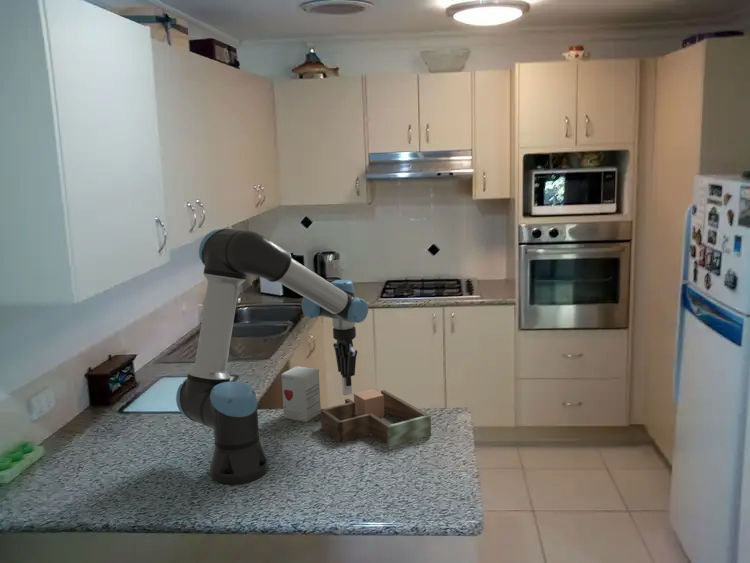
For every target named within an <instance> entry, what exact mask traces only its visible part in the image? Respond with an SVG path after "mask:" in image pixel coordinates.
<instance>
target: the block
mask: <svg viewBox="0 0 750 563" xmlns="http://www.w3.org/2000/svg"><path fill="white" fill-rule="evenodd" d="M353 402H355V411H356V417H357V416H361V415H365V414H369V413H372V414H374V415H375V416H377V417H378V418H383V417H384V416H385V410H384V395H382V394H381V392H379V391H377V390H375V389H374V388H372V389H371V388H370V389H367V390H362V391H358V392H354V393H353Z"/></svg>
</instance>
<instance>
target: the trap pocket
mask: <svg viewBox="0 0 750 563" xmlns="http://www.w3.org/2000/svg"><path fill="white" fill-rule="evenodd" d="M353 405H354V404H353ZM353 405H352V402H350V403H346V404H345V403H343V404H337V405H335V406H331V407H326V408H321V410H320V411H321V413H320V423H321V424H320V426H321V427H320V428H321V429H322V430H323V431H324V432H326V433H327V434H328V433H329V434H328V435H330V436H331V437H333V439H334V440H336V441H338V442H339V443H342V442H346V441H349V440H353V439H358V438H360V437H364V436H368V435H371V434H370V415H371V414H370V413H369V414H365V415H361V416H357V415H356V417H353V416H354V415H353V414H352V413H354V412H352V411H353V409H352V406H353ZM353 408H354V407H353ZM352 415H353V416H352Z"/></svg>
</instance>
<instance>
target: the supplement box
mask: <svg viewBox="0 0 750 563" xmlns="http://www.w3.org/2000/svg"><path fill="white" fill-rule="evenodd" d="M280 376H281V385H282V386H281V389H282V406H283V418H284V419H288V420H293V421H294V420H295V421H297V422H298V421H299V422H304V423H308V422H309V421H311V420H312V419H314V418H315V417H316V416H318V415H319V414H321V411H320V410H321V409H322V408H321V386H320V369H318V368H312V367H306V366H297V365H295V366H294V367H293V368H290V369H289V370H287V371H284V372H283V373H281V375H280Z"/></svg>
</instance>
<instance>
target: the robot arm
mask: <svg viewBox="0 0 750 563" xmlns="http://www.w3.org/2000/svg"><path fill="white" fill-rule="evenodd" d="M198 255H199V260H200V261H201V263H202V265H203V266H204V268H203V276H204V277H205V279H206V281H207V285H206V286H207V287H206V293H205V297H204V304H203V311H202V318H201V324H200V329H199V330H200V331H199V337H198V343H197V350H196V356H195V363H194V366H193V367H192V368H191V369H190V370H188V372H187V378H185V379H184V380H183V381H182V383H181V384H180V385H179V386H178V389H177V392H176V395H175V400H176V406H177V408H178V410H179V412H180V413H181V414H182V415H183V416H184V417H185V418H187V419H189V420H190V421H192V422H195V423H198V424H200V425H202V426H205V427H208V428H210V429H213V437H214V438H213V439H214V450H213V454H212V457H211V463H210V466H209V469H210V471H209V472H210V477H211V479H213V481H216V482H217V483H220V484H225V485H237V484H238V485H239V484H245V483H250V482H253V481H255V480H257V479H260V478H261V477H263V476H264V475H265V474H266V473H267V472H268V470H269V463H268V462H269V461H268V457H267V455H266V453H265V451H264V448H263V446H262V444H261V441H260V433H259V432H260V429H259V416H258V400H257V394H256V391H255V389H254V388H253V387H252V386H251V385H250V384H247V383H245V382H241V381H237V382H235V381H231V375H230V374H229V373H228V371H227V367H228V360H229V353H230V348H231V347H230V346H231V340H232V336H233V335H232V334H233V328H234V321H235V316H236V315H235V314H236V308H237V301H238V294H239V287H240V286H241V285H242V284H243V283H244V282H246V279H247V275H251V276H255V277H260V278H262V279H264V280H266V281H268V282H271V283H276V282H277V283H279V284H281V285H282V286H284V287H286V288H288V289H289V290H291V291H293V292H295V293H297V294H298V295H300V296H302V297H303V299H302V301H301V310H302V313H303V314H304V316H305V317H307V318H309V319H313V318H315V319H317V318H319V317H324V318H329V319H331V320H332V322H331V323H332V326H333V328H332V335H333V336H332V337H333V339H334V340H336V342H334V343H333V348H334V352H335V359H336V366H337V371H338V373H340V375H341V380H342V381H341V383H342V395H343V396H348V395H352V394H353V388H352V386H353V385H352V377H353V376H355V375H356V365H357V362H356V361H357V355H358V349H354V343H353V341H354V339H355V338H356V337H357V335H356V334H357V331H356V326H355V325H356V323H357V324H360V323H362V322H364V321H365V319H366V318H367V316H368V314H369V305H368V303H367V301H366V300H365V299H363V298H360V297H355V289H354V283H353V282H352V280H349V279H336V280H333V281H331V282H329V281H328V280H326V279H325V278H323V277H322V276H320V275H318V274H317V273H316V272H314V271H312V270H311V269H309V268H308V267H307V266H304V265H303V264H301V263H300V262H299V261H297V260H295V259H294V258H293V257H292V255H291V253H290V251H288V250H287V249H285V248H283V247H282V246H280V245H279V244H277V243H276V242H275V241H272V240H271V239H269V238H267V237H266V236H265V235H262V234H260V233H258V232H255V231H251V230H241V229H232V228H221V229H220V228H218V229H214V230H211V231H209V233H207V234H206V235H205V236H204V237H203V239H202V240H201V241H200V244H199V248H198Z"/></svg>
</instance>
